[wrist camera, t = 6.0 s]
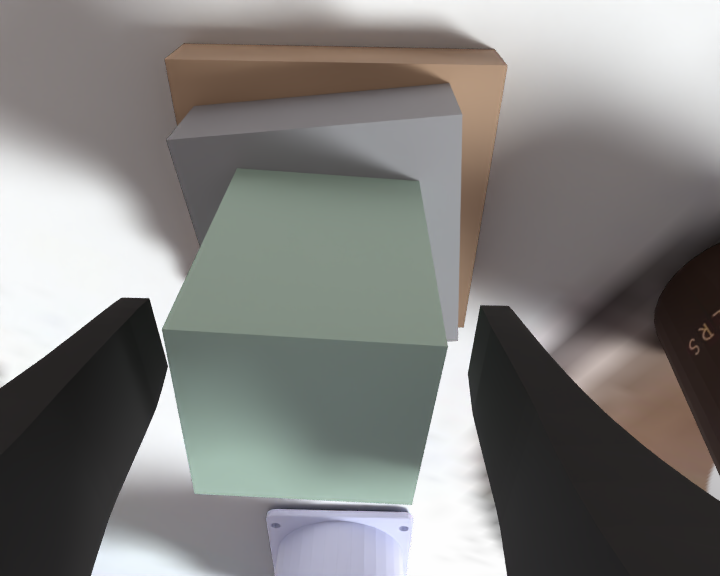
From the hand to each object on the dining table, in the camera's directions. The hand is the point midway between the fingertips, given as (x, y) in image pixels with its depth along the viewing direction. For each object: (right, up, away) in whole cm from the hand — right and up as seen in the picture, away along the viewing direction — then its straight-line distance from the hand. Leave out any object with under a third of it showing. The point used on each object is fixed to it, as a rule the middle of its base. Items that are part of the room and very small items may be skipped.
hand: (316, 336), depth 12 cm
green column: (0, +2, +3) cm, 3 cm away
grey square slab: (0, +4, +5) cm, 6 cm away
